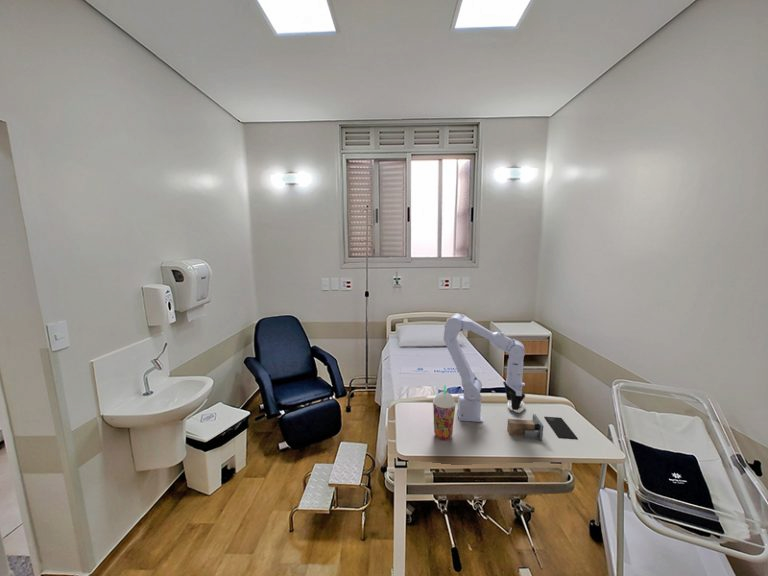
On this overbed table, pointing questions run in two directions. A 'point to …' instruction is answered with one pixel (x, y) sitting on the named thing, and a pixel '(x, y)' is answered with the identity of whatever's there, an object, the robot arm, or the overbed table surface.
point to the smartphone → (560, 428)
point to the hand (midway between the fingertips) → (512, 404)
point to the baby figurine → (521, 407)
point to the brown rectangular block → (519, 426)
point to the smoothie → (443, 414)
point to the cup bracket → (535, 430)
